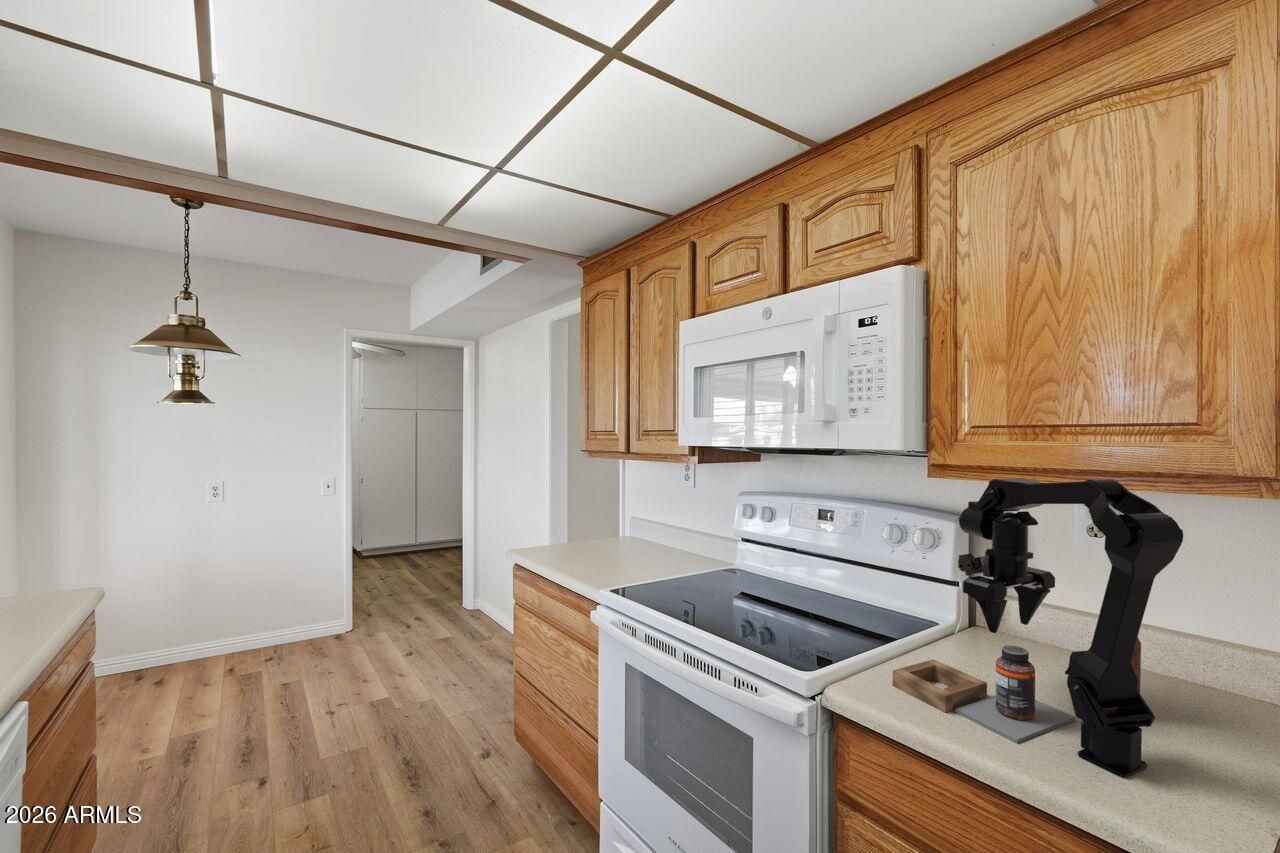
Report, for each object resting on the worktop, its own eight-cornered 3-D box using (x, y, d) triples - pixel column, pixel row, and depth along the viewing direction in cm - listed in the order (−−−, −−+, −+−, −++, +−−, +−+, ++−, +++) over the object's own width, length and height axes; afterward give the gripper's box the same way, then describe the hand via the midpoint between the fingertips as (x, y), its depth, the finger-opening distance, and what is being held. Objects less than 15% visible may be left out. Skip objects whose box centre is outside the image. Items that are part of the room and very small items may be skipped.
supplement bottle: (1023, 705, 107) (1024, 643, 107) (1042, 722, 102) (1043, 657, 101) (988, 703, 108) (989, 642, 108) (1005, 720, 102) (1006, 655, 102)
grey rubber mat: (1075, 720, 103) (1075, 716, 103) (1016, 743, 96) (1016, 739, 96) (1012, 692, 113) (1012, 689, 113) (955, 712, 106) (955, 708, 106)
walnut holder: (986, 698, 111) (987, 682, 111) (944, 712, 106) (945, 695, 106) (933, 673, 122) (933, 659, 122) (892, 685, 117) (892, 670, 117)
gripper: (999, 532, 122) (999, 607, 123) (937, 542, 114) (936, 622, 115) (1057, 543, 112) (1056, 625, 113) (993, 554, 104) (992, 642, 105)
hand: (1008, 628), depth 111 cm, fingers open, 9 cm apart
